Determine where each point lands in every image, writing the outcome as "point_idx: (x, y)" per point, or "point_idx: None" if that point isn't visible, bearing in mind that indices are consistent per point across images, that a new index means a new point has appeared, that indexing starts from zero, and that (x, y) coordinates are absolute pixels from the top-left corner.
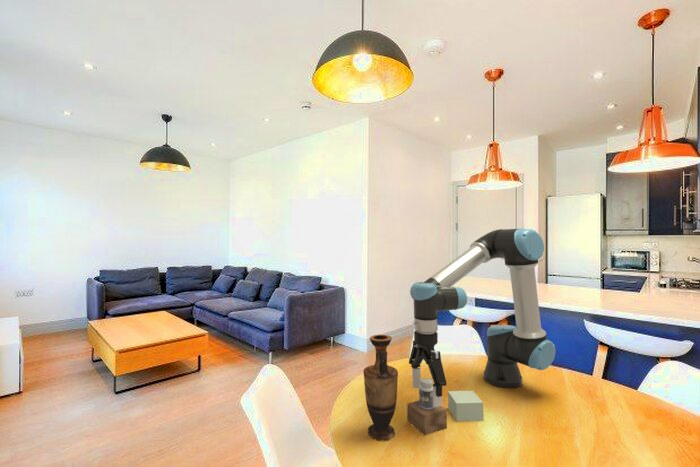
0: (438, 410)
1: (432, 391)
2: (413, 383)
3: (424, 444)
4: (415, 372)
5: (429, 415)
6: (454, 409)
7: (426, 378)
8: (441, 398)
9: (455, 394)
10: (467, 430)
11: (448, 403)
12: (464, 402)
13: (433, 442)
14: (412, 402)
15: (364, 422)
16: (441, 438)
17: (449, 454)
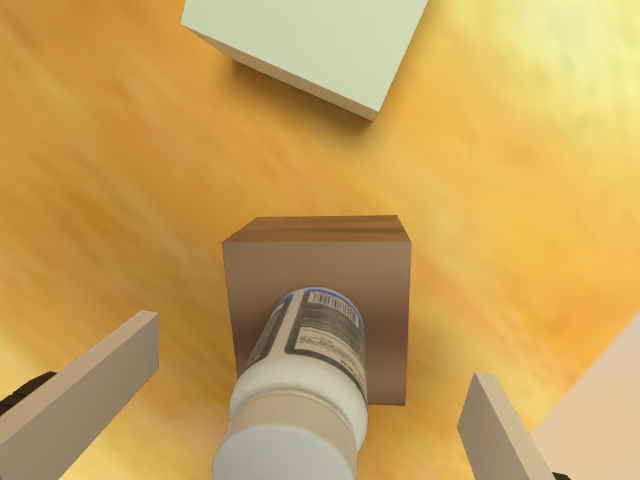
0: (394, 298)
1: (366, 402)
2: (132, 394)
3: (442, 379)
4: (48, 466)
5: (405, 370)
6: (337, 101)
7: (225, 447)
8: (520, 425)
9: (253, 1)
10: (469, 131)
11: (227, 53)
12: (400, 35)
13: (452, 342)
14: (240, 366)
15: (207, 468)
16: (448, 295)
17: (554, 342)
